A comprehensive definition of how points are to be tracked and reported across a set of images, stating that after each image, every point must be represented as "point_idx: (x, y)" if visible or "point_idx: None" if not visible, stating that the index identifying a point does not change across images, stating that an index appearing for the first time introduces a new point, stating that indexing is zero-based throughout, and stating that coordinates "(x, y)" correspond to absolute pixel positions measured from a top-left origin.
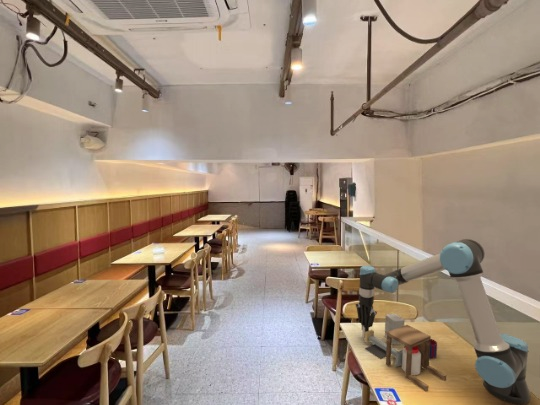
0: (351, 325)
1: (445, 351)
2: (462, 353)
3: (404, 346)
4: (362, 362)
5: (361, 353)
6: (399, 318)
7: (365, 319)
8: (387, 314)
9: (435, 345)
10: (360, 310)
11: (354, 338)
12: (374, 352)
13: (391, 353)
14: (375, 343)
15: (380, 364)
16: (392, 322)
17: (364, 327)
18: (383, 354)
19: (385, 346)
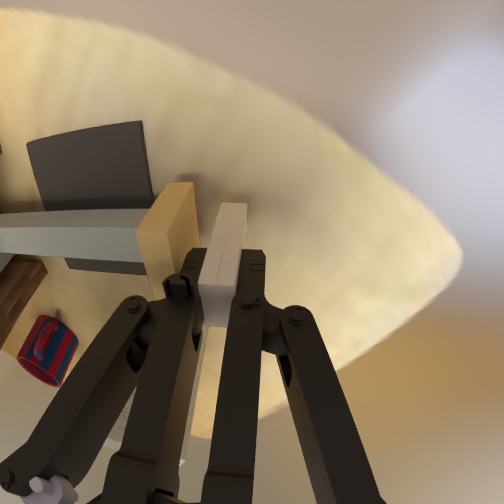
0: (423, 276)
1: (74, 366)
2: (66, 376)
3: (13, 299)
4: (39, 13)
5: (105, 55)
6: (114, 449)
7: (163, 382)
8: (180, 461)
9: (21, 363)
10: (317, 480)
11: (306, 159)
12: (74, 149)
13: (8, 216)
14: (100, 213)
15: (2, 110)
16: None
17: (180, 273)
18: (50, 187)
19: (24, 229)
